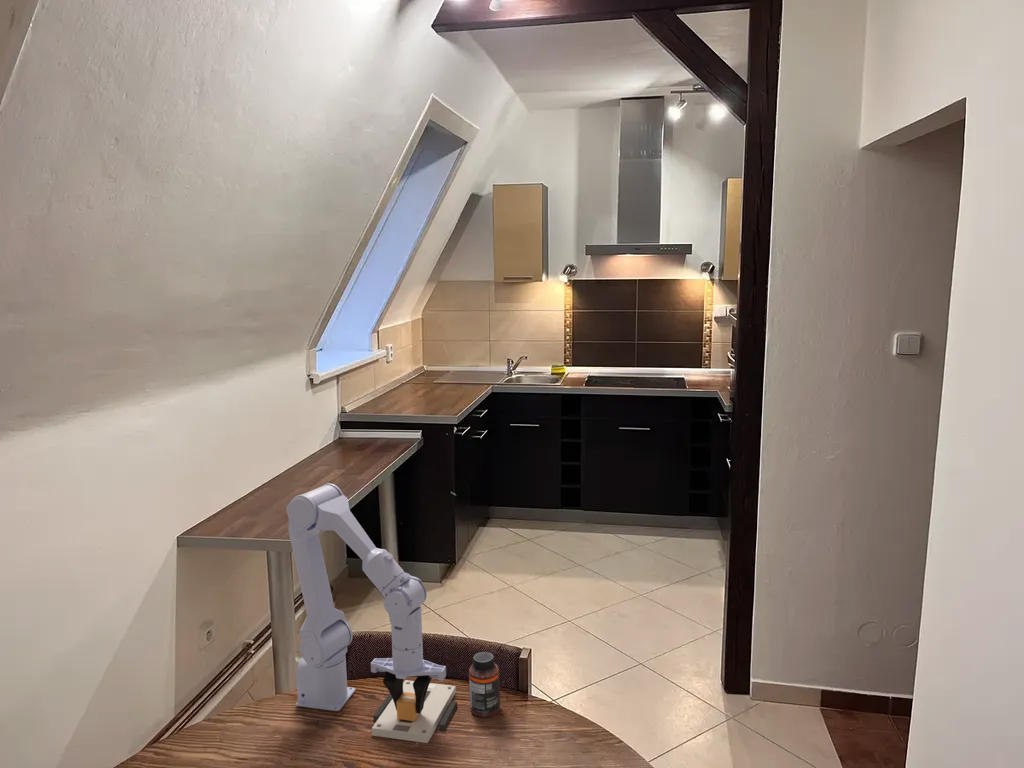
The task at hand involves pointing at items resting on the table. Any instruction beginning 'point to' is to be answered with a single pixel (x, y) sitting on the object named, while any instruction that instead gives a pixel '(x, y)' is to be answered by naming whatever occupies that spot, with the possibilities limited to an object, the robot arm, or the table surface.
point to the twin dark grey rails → (442, 723)
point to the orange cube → (407, 707)
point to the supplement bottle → (484, 685)
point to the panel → (425, 721)
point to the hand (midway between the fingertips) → (409, 709)
